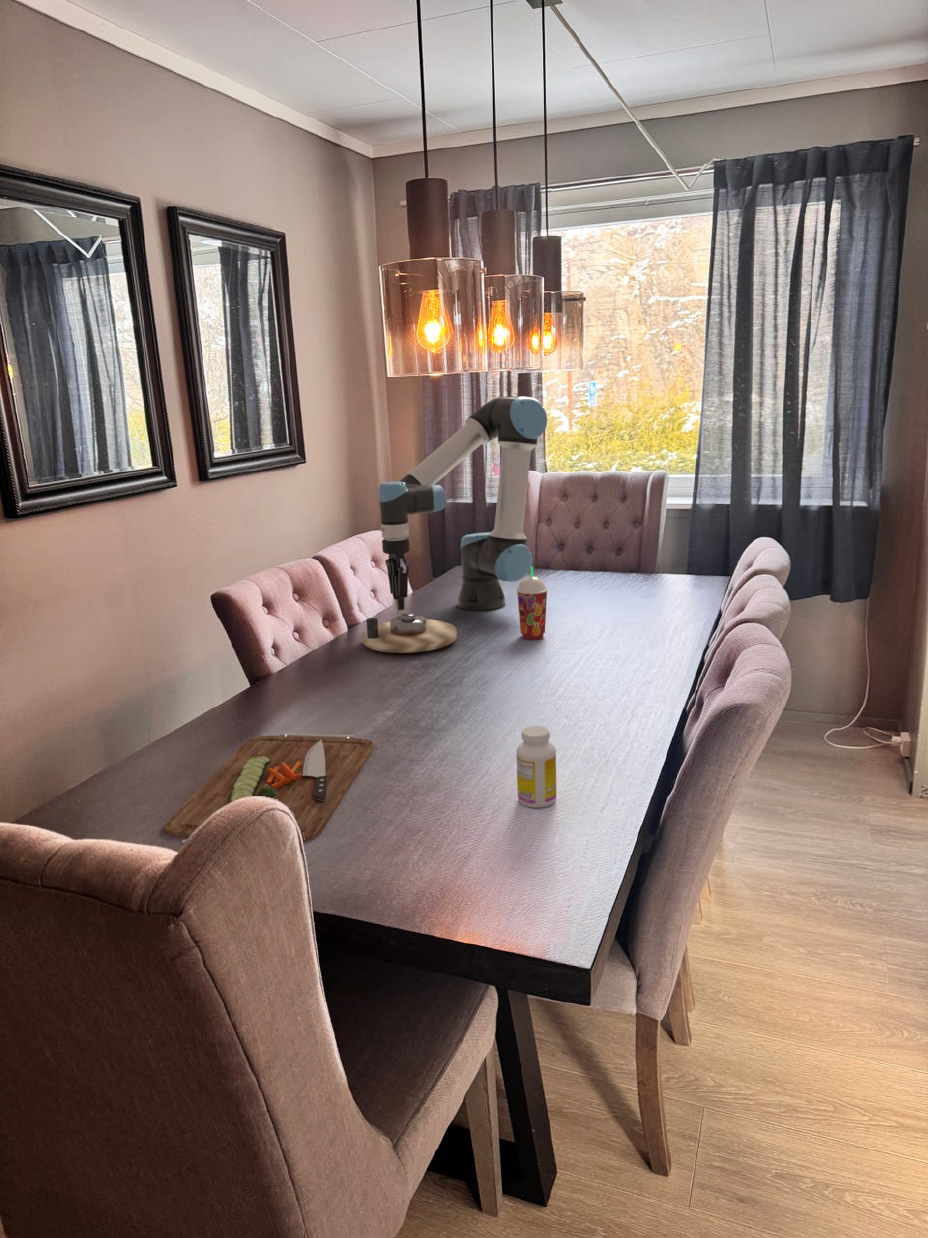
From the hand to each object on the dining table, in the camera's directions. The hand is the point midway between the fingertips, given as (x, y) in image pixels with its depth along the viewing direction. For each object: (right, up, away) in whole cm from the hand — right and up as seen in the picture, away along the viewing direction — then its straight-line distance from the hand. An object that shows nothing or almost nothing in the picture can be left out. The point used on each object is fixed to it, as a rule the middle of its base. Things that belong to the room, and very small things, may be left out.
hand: (400, 620), depth 253 cm
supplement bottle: (+31, -31, -100) cm, 109 cm away
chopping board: (-16, -31, -90) cm, 96 cm away
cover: (+3, -3, -7) cm, 8 cm away
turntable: (+3, -5, -7) cm, 9 cm away
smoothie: (+37, -5, -5) cm, 38 cm away
